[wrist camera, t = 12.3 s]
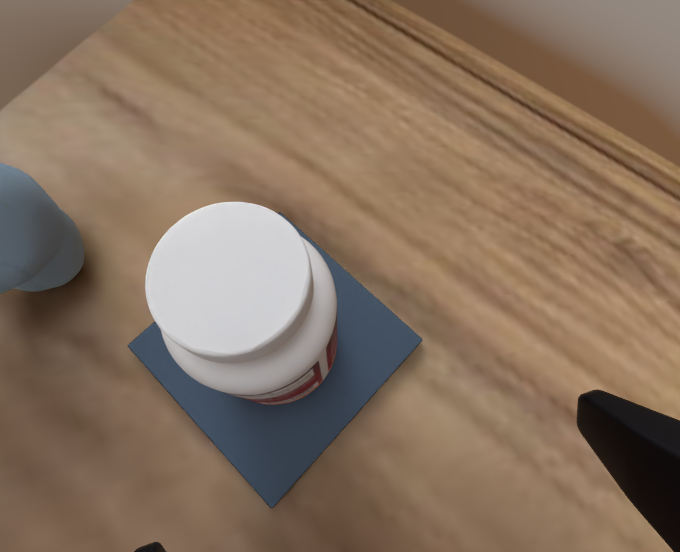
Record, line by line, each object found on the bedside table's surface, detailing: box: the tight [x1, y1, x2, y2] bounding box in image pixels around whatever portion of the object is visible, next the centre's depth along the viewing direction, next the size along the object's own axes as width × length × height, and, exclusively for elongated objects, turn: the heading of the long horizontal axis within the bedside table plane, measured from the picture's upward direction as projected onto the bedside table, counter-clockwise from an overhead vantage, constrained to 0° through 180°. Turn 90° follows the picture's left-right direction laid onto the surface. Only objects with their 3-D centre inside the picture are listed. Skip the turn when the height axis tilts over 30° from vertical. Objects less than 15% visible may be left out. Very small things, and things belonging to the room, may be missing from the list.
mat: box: [128, 212, 422, 508], centre depth 23 cm, size 11×11×1 cm
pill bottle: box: [145, 202, 337, 405], centre depth 17 cm, size 6×6×11 cm
